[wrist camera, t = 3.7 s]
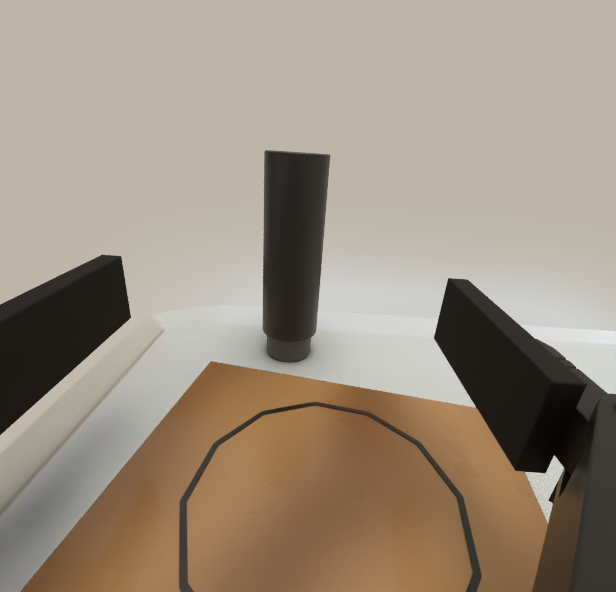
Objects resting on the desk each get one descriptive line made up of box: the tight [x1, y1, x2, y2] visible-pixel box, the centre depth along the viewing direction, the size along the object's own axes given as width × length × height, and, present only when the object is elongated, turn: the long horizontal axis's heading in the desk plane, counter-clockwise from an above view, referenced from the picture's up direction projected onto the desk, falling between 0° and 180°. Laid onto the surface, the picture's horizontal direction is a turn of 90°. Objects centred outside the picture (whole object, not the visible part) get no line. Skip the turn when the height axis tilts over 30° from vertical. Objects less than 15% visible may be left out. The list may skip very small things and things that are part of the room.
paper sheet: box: [21, 361, 548, 592], centre depth 13 cm, size 16×14×1 cm
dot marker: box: [263, 150, 330, 362], centre depth 20 cm, size 3×3×12 cm
